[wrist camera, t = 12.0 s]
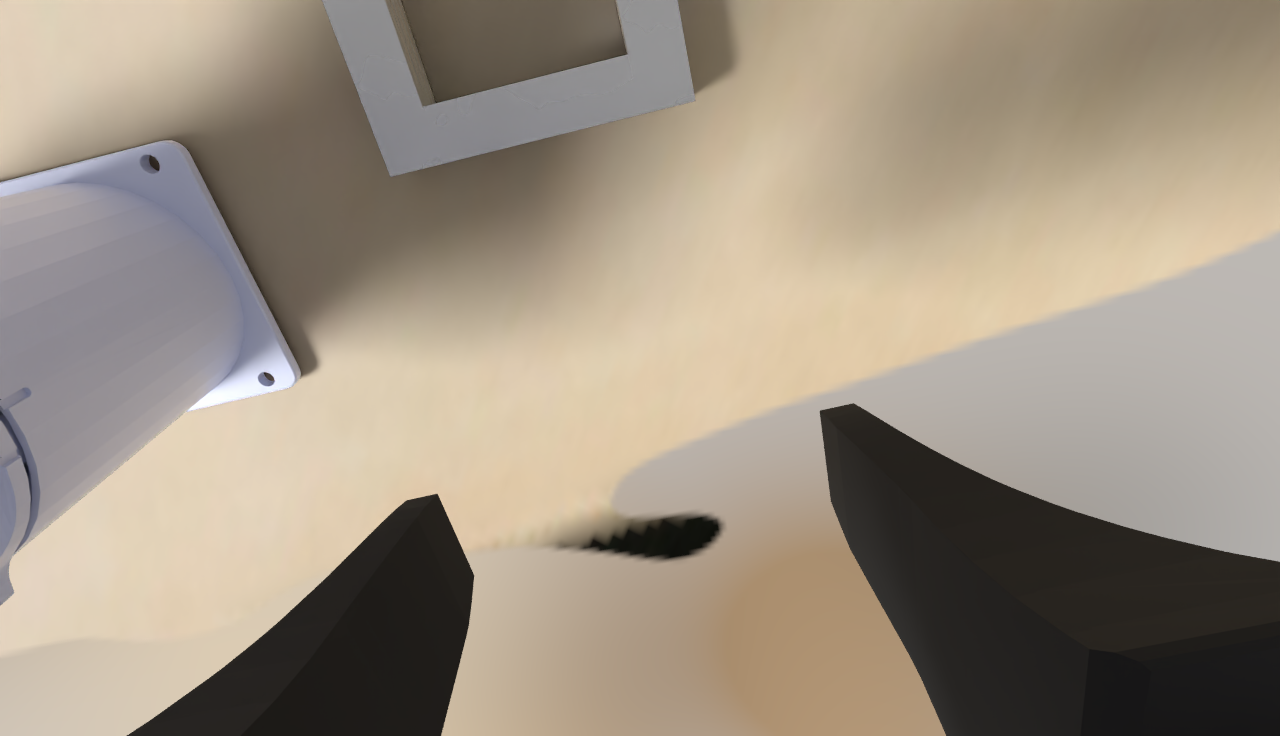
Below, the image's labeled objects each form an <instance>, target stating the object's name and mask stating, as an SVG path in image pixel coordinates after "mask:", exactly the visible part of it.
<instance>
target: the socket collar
mask: <svg viewBox="0 0 1280 736" xmlns="http://www.w3.org/2000/svg"><path fill="white" fill-rule="evenodd" d="M322 2H323V4H324V7H325V10H326V12H327V15H328V17H329V20H330V22H331V25H332V28H333V30H334V33H335V35H336V38H337V41H338V43H339V46H340V48H341V51H342V53H343V56H344V59H345V61H346V64H347V66H348V69H349V72H350V74H351V77H352V79H353V82H354V84H355V87H356V90H357V92H358V95H359V97H360V100H361V102H362V105H363V108H364V110H365V113H366V115H367V118H368V121H369V123H370V126H371V128H372V131H373V133H374V136H375V139H376V141H377V144H378V146H379V149H380V152H381V154H382V157H383V159H384V162H385V164H386V167H387V170H388V172H389V175H390V177H392V176H396V175H400V174H404V173H408V172H412V171H416V170H420V169H424V168H428V167H432V166H436V165H441V164H445V163H449V162H453V161H457V160H461V159H465V158H469V157H473V156H477V155H481V154H485V153H489V152H493V151H497V150H501V149H505V148H509V147H513V146H517V145H521V144H525V143H529V142H533V141H537V140H541V139H545V138H549V137H553V136H557V135H561V134H565V133H569V132H573V131H577V130H581V129H585V128H589V127H593V126H597V125H601V124H605V123H609V122H613V121H617V120H621V119H625V118H629V117H633V116H637V115H641V114H645V113H649V112H653V111H657V110H661V109H665V108H669V107H673V106H677V105H681V104H685V103H689V102H693V101H695V95H694V90H693V84H692V78H691V73H690V67H689V61H688V56H687V50H686V45H685V39H684V33H683V28H682V22H681V16H680V11H679V5H678V0H615V2H616V7H617V11H618V16H619V21H620V25H621V30H622V35H623V39H624V44H625V49H626V53H627V55H623V56H619V57H615V58H611V59H607V60H604V61H600V62H596V63H592V64H588V65H584V66H580V67H576V68H572V69H568V70H564V71H560V72H557V73H553V74H549V75H545V76H541V77H537V78H533V79H529V80H525V81H521V82H517V83H513V84H509V85H506V86H502V87H498V88H494V89H490V90H486V91H482V92H478V93H474V94H470V95H466V96H462V97H459V98H455V99H451V100H447V101H443V102H439V103H436V102H435V99H434V96H433V93H432V90H431V87H430V84H429V81H428V78H427V76H426V73H425V70H424V67H423V64H422V61H421V58H420V55H419V52H418V49H417V46H416V43H415V40H414V37H413V34H412V32H411V29H410V26H409V23H408V20H407V17H406V14H405V11H404V8H403V5H402V2H401V0H322Z"/></svg>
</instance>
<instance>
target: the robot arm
mask: <svg viewBox="0 0 1280 736" xmlns="http://www.w3.org/2000/svg"><path fill="white" fill-rule="evenodd" d="M150 155H151V156H153V157H155V158H156V159H157V160H158V162H159V165H160V169H159V171H157V170H155V169H153V167H152V166H151V165H150V162H149V157H150ZM264 372H267V373H269V374H271V375H272V376H273V377H274V380H275V381H270V380H268V379H267V378H266V377H265V376H264ZM300 376H301V372H300V368H299V366H298V364H297V362H296V360H295V358H294V356H293V354H292V353H291V351H290V349H289V347H288V345H287V343H286V341H285V339H284V337H283V335H282V333H281V331H280V329H279V327H278V325H277V323H276V321H275V319H274V317H273V315H272V313H271V311H270V309H269V307H268V306H267V304H266V302H265V300H264V298H263V296H262V294H261V292H260V290H259V288H258V286H257V284H256V282H255V280H254V278H253V276H252V274H251V272H250V270H249V268H248V266H247V264H246V262H245V261H244V259H243V257H242V255H241V253H240V251H239V249H238V247H237V245H236V243H235V241H234V239H233V237H232V235H231V233H230V231H229V229H228V227H227V225H226V223H225V221H224V219H223V217H222V216H221V214H220V212H219V210H218V208H217V206H216V204H215V202H214V200H213V198H212V196H211V194H210V192H209V190H208V188H207V186H206V184H205V182H204V180H203V178H202V176H201V174H200V172H199V171H198V169H197V167H196V165H195V163H194V161H193V159H192V157H191V155H190V153H189V152H188V151H187V149H186V148H185V147H184V146H183V145H181V144H180V143H178V142H175V141H173V140H164V141H158V142H154V143H151V144H147V145H143V146H139V147H135V148H131V149H127V150H123V151H120V152H116V153H112V154H108V155H104V156H100V157H96V158H92V159H89V160H85V161H81V162H77V163H73V164H69V165H65V166H62V167H58V168H54V169H50V170H46V171H42V172H38V173H34V174H31V175H27V176H23V177H19V178H15V179H11V180H7V181H4V182H0V606H1V605H2V604H3V603H4V602H5V601H6V600H7V599H8V598H10V597H11V596H12V595H13V594H14V590H13V587H12V584H11V582H10V579H9V563H10V560H11V558H12V556H13V555H15V554H16V553H17V552H18V551H19V550H21V549H22V548H23V547H24V546H25V545H27V544H28V543H29V542H30V541H31V540H33V539H34V538H35V537H36V536H37V535H39V534H40V533H41V532H42V531H43V530H45V529H46V528H47V527H48V526H49V525H51V524H52V523H53V522H54V521H55V520H57V519H58V518H59V517H60V516H61V515H63V514H64V513H65V512H66V511H67V510H69V509H70V508H71V507H72V506H73V505H75V504H76V503H77V502H78V501H79V500H81V499H82V498H83V497H84V496H85V495H87V494H88V493H89V492H90V491H91V490H93V489H94V488H95V487H96V486H97V485H99V484H100V483H101V482H102V481H103V480H105V479H106V478H107V477H108V476H109V475H111V474H112V473H113V472H114V471H115V470H117V469H118V468H119V467H120V466H121V465H123V464H124V463H125V462H126V461H127V460H129V459H130V458H131V457H132V456H133V455H135V454H136V453H137V452H138V451H139V450H141V449H142V448H143V447H144V446H145V445H147V444H148V443H149V442H150V441H151V440H153V439H154V438H155V437H156V436H157V435H159V434H160V433H161V432H162V431H163V430H165V429H166V428H167V427H168V426H169V425H171V424H172V423H173V422H174V421H175V420H177V419H178V418H179V417H180V416H181V415H183V414H184V413H185V412H188V411H193V410H197V409H201V408H206V407H210V406H214V405H219V404H223V403H227V402H232V401H236V400H240V399H245V398H249V397H253V396H258V395H262V394H266V393H271V392H275V391H279V390H284V389H288V388H290V387H292V386H294V385H295V384H296V383H297V381H298V380H299V379H300ZM820 417H821V425H822V433H823V441H824V449H825V456H826V465H827V473H828V481H829V489H830V497H831V502H832V505H833V507H834V510H835V513H836V515H837V517H838V520H839V523H840V525H841V528H842V530H843V533H844V535H845V537H846V540H847V542H848V544H849V547H850V549H851V551H852V553H853V555H854V556H855V559H856V560H857V562H858V564H859V566H860V567H861V569H862V571H863V573H864V575H865V576H866V578H867V580H868V582H869V584H870V586H871V587H872V589H873V591H874V592H875V594H876V596H877V598H878V600H879V601H880V603H881V605H882V607H883V609H884V610H885V612H886V614H887V616H888V618H889V619H890V621H891V623H892V625H893V627H894V628H895V630H896V632H897V634H898V635H899V637H900V639H901V641H902V642H903V644H904V646H905V648H906V650H907V652H908V653H909V655H910V657H911V659H912V661H913V663H914V665H915V667H916V669H917V671H918V673H919V675H920V677H921V679H922V681H923V683H924V686H925V688H926V690H927V693H928V695H929V697H930V699H931V702H932V704H933V706H934V708H935V710H936V713H937V715H938V717H939V720H940V722H941V724H942V727H943V729H944V731H945V734H946V736H1280V562H1278V561H1272V560H1267V559H1261V558H1256V557H1250V556H1245V555H1239V554H1233V553H1229V552H1224V551H1219V550H1215V549H1211V548H1206V547H1202V546H1198V545H1194V544H1189V543H1185V542H1181V541H1176V540H1172V539H1168V538H1164V537H1160V536H1156V535H1153V534H1149V533H1145V532H1142V531H1138V530H1134V529H1130V528H1127V527H1123V526H1120V525H1117V524H1114V523H1110V522H1107V521H1104V520H1101V519H1098V518H1094V517H1091V516H1087V515H1085V514H1081V513H1078V512H1075V511H1072V510H1069V509H1066V508H1063V507H1061V506H1058V505H1055V504H1052V503H1049V502H1047V501H1044V500H1042V499H1039V498H1037V497H1034V496H1031V495H1029V494H1026V493H1024V492H1021V491H1019V490H1016V489H1014V488H1011V487H1008V486H1006V485H1004V484H1002V483H999V482H997V481H995V480H992V479H990V478H988V477H986V476H984V475H982V474H980V473H978V472H976V471H974V470H971V469H969V468H967V467H965V466H963V465H961V464H959V463H957V462H955V461H953V460H951V459H949V458H947V457H945V456H943V455H941V454H940V453H938V452H936V451H934V450H932V449H930V448H928V447H927V446H925V445H923V444H921V443H920V442H918V441H916V440H914V439H912V438H911V437H909V436H907V435H906V434H904V433H902V432H900V431H898V430H897V429H895V428H893V427H892V426H890V425H889V424H887V423H885V422H884V421H882V420H880V419H879V418H877V417H876V416H874V415H872V414H871V413H869V412H867V411H866V410H864V409H862V408H861V407H859V406H857V405H855V404H849V405H844V406H840V407H835V408H830V409H826V410H821V411H820ZM473 581H474V574H473V572H472V570H471V568H470V565H469V563H468V561H467V558H466V556H465V554H464V552H463V550H462V547H461V545H460V543H459V541H458V538H457V536H456V534H455V532H454V530H453V527H452V525H451V523H450V521H449V518H448V516H447V514H446V512H445V510H444V507H443V505H442V503H441V501H440V498H439V496H438V494H434V495H430V496H425V497H420V498H416V499H411V500H407V501H405V502H404V503H403V504H402V505H401V506H399V507H398V508H397V509H396V510H395V511H394V512H393V513H392V514H390V515H389V516H388V517H387V518H386V519H385V520H384V521H383V522H382V523H381V524H380V525H379V526H378V527H377V528H376V529H375V530H374V531H373V532H372V533H371V534H370V535H369V536H368V537H367V538H366V539H365V540H364V541H363V542H362V543H361V544H360V545H359V546H358V547H357V548H356V549H355V550H354V551H353V552H352V553H351V554H350V555H349V556H348V557H347V558H346V559H345V560H344V561H343V562H342V563H341V564H340V565H339V566H338V567H337V568H336V569H335V570H334V571H333V572H332V573H331V574H330V575H329V576H328V577H327V578H326V579H325V580H323V582H321V583H320V584H319V585H318V586H317V587H316V588H315V589H314V590H313V591H312V592H311V593H310V594H308V595H307V596H306V597H305V598H304V599H303V600H302V601H301V602H300V603H299V604H298V605H296V606H295V607H294V608H293V609H292V610H291V611H290V612H289V613H288V614H287V615H286V616H285V617H284V618H282V619H281V620H280V621H279V622H278V623H277V624H276V625H275V626H273V627H272V628H271V629H270V630H269V631H268V632H267V633H265V634H264V635H263V636H262V637H260V638H259V639H258V640H257V641H256V642H255V643H253V644H252V645H251V646H250V647H248V648H247V649H246V650H245V651H243V652H242V653H241V654H240V655H238V656H237V657H236V658H235V659H233V660H232V661H231V662H230V663H228V664H227V665H226V666H225V667H224V668H222V669H221V670H220V671H218V672H217V673H216V674H214V675H213V676H212V677H210V678H209V679H207V680H206V681H205V682H203V683H202V684H200V685H199V686H198V687H196V688H195V689H193V690H192V691H191V692H189V693H188V694H186V695H185V696H184V697H182V698H181V699H179V700H178V701H177V702H175V703H174V704H172V705H171V706H170V707H168V708H167V709H165V710H164V711H163V712H161V713H160V714H159V715H157V716H156V717H154V718H153V719H152V720H150V721H149V722H147V723H146V724H144V725H143V726H141V727H140V728H138V729H136V730H135V731H134V732H132V733H130V734H129V735H127V736H441V733H442V729H443V726H444V722H445V718H446V714H447V710H448V706H449V702H450V698H451V694H452V691H453V686H454V683H455V679H456V675H457V671H458V667H459V663H460V659H461V655H462V651H463V647H464V643H465V639H466V635H467V630H468V626H469V618H470V611H471V603H472V592H473Z"/></svg>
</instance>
